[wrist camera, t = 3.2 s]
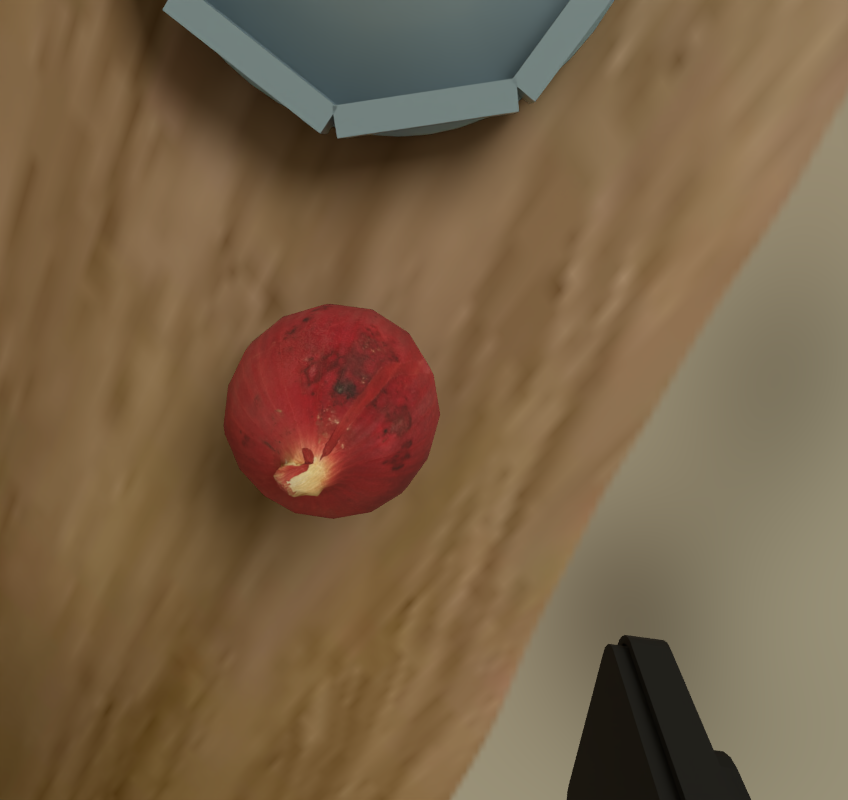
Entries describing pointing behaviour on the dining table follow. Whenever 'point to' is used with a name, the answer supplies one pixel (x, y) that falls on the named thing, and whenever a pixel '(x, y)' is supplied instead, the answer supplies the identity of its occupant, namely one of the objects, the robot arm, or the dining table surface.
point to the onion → (332, 411)
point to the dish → (394, 56)
